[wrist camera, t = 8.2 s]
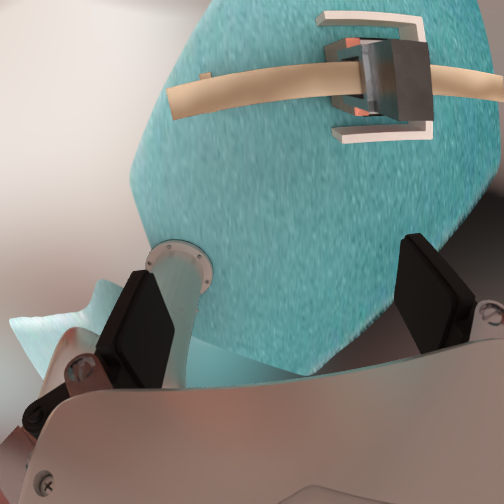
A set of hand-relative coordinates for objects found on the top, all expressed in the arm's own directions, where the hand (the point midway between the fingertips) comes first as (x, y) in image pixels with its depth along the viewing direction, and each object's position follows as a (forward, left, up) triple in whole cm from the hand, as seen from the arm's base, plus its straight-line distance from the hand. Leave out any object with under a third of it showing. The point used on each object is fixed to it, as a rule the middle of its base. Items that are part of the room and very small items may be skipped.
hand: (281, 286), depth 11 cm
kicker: (+6, -11, -36) cm, 38 cm away
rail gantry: (+6, -10, -37) cm, 39 cm away
